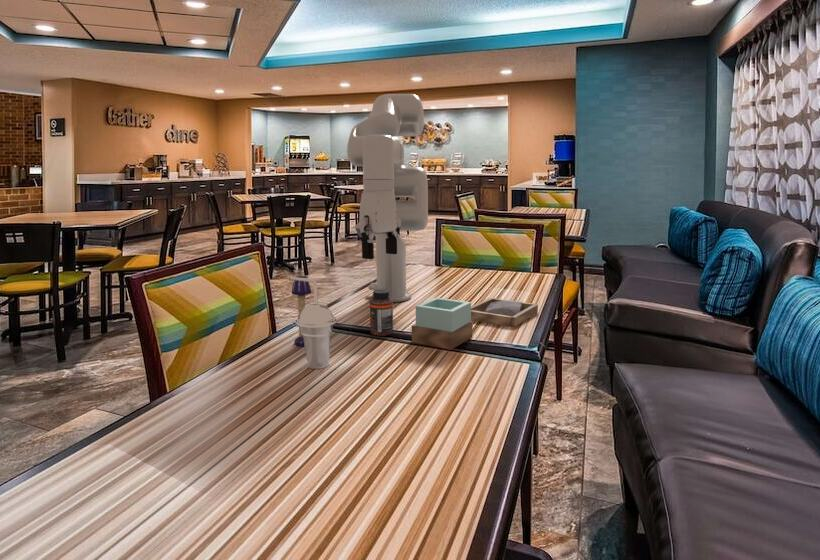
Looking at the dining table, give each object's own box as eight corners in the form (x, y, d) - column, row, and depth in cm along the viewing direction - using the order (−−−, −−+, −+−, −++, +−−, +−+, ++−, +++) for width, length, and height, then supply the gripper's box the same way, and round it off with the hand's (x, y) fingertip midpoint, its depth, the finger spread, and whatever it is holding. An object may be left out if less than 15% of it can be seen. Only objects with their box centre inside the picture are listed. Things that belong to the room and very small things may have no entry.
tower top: (415, 325, 133) (415, 306, 131) (435, 316, 141) (435, 297, 140) (452, 332, 127) (452, 311, 126) (470, 321, 136) (471, 302, 135)
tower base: (411, 343, 134) (411, 325, 133) (434, 331, 143) (434, 315, 142) (450, 351, 128) (450, 332, 127) (472, 338, 137) (472, 321, 136)
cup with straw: (331, 373, 114) (327, 279, 109) (290, 371, 115) (285, 278, 111) (342, 359, 122) (339, 271, 118) (304, 357, 123) (300, 270, 119)
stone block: (486, 327, 152) (521, 322, 149) (482, 310, 152) (518, 305, 149) (490, 317, 163) (524, 312, 161) (487, 301, 163) (521, 296, 160)
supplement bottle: (367, 331, 142) (366, 289, 140) (389, 328, 144) (388, 287, 142) (373, 337, 137) (372, 294, 135) (396, 335, 139) (395, 292, 136)
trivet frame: (463, 318, 153) (463, 310, 153) (490, 305, 167) (490, 297, 167) (514, 327, 145) (514, 318, 144) (538, 312, 159) (538, 304, 158)
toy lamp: (295, 340, 135) (291, 275, 132) (314, 340, 135) (311, 274, 132) (293, 347, 130) (289, 279, 127) (312, 346, 131) (309, 278, 127)
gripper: (387, 186, 142) (388, 251, 145) (343, 187, 128) (346, 259, 131) (411, 186, 138) (411, 253, 141) (368, 188, 124) (370, 262, 127)
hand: (380, 256), depth 136 cm, fingers open, 9 cm apart
